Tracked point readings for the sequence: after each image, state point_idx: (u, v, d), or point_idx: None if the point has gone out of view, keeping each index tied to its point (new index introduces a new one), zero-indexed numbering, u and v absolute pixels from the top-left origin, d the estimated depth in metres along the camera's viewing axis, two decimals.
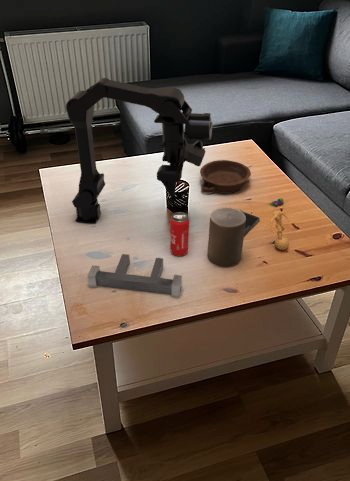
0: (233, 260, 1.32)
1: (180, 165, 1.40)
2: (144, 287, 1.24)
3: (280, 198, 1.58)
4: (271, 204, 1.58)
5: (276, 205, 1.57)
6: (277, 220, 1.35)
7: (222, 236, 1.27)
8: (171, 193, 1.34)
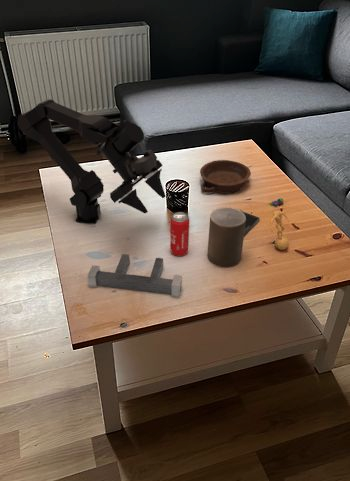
0: (233, 260, 1.32)
1: (156, 182, 1.36)
2: (144, 287, 1.24)
3: (280, 198, 1.58)
4: (271, 204, 1.58)
5: (276, 205, 1.57)
6: (277, 220, 1.35)
7: (222, 236, 1.27)
8: (143, 210, 1.30)
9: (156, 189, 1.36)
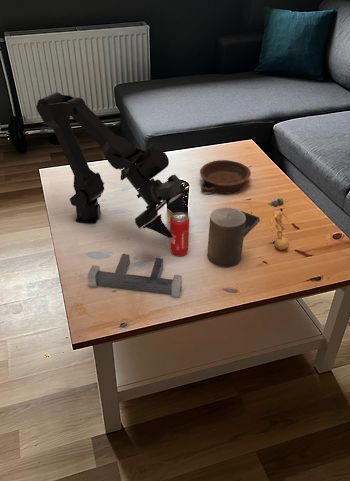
0: (233, 260, 1.32)
1: (179, 206, 1.36)
2: (144, 287, 1.24)
3: (280, 198, 1.58)
4: (271, 204, 1.58)
5: (276, 205, 1.57)
6: (277, 220, 1.35)
7: (222, 236, 1.27)
8: (167, 235, 1.30)
9: None
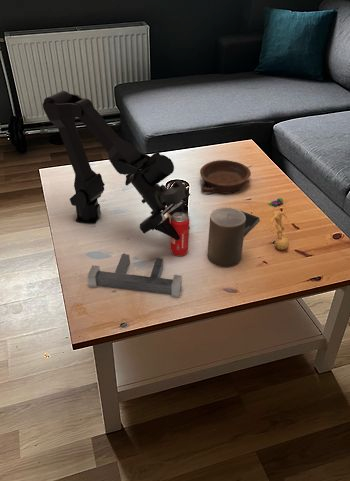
0: (233, 260, 1.32)
1: None
2: (144, 287, 1.24)
3: (279, 198, 1.58)
4: (271, 204, 1.58)
5: (276, 205, 1.57)
6: (277, 220, 1.35)
7: (222, 236, 1.27)
8: (175, 237, 1.32)
9: None
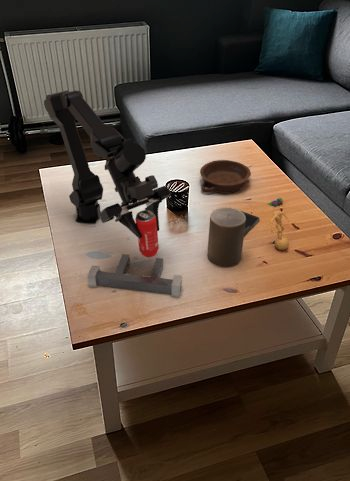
0: (233, 260, 1.32)
1: None
2: (144, 287, 1.24)
3: (279, 198, 1.58)
4: (270, 204, 1.58)
5: (275, 205, 1.57)
6: (277, 220, 1.35)
7: (222, 236, 1.27)
8: (137, 235, 1.21)
9: None
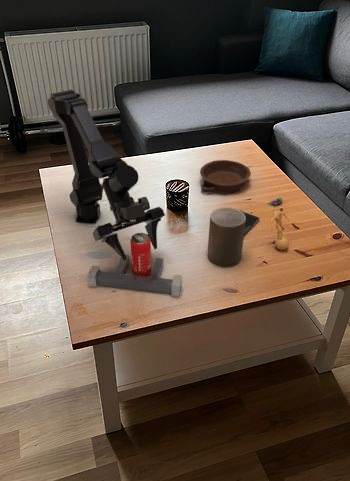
0: (233, 260, 1.32)
1: (151, 231, 1.26)
2: (144, 287, 1.24)
3: (279, 198, 1.58)
4: (270, 204, 1.58)
5: (275, 205, 1.57)
6: (277, 220, 1.35)
7: (222, 236, 1.27)
8: (122, 257, 1.22)
9: (151, 237, 1.27)
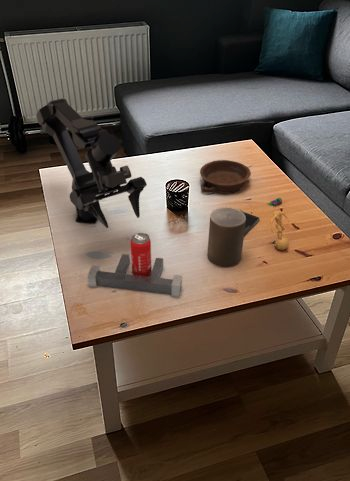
0: (233, 260, 1.32)
1: (133, 200, 1.29)
2: (144, 287, 1.24)
3: None
4: (270, 204, 1.58)
5: (275, 205, 1.57)
6: (277, 220, 1.35)
7: (222, 236, 1.27)
8: (104, 225, 1.26)
9: (133, 207, 1.30)
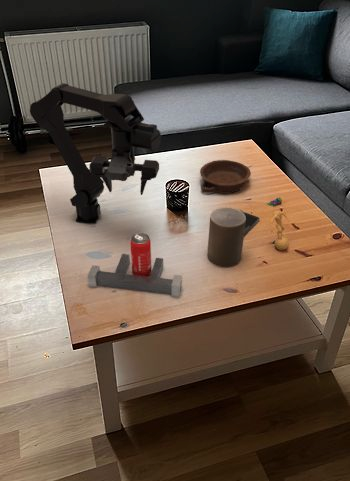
0: (233, 260, 1.32)
1: (141, 181, 1.35)
2: (144, 287, 1.24)
3: None
4: (269, 204, 1.58)
5: (275, 205, 1.57)
6: (277, 220, 1.35)
7: (222, 236, 1.27)
8: None
9: None
